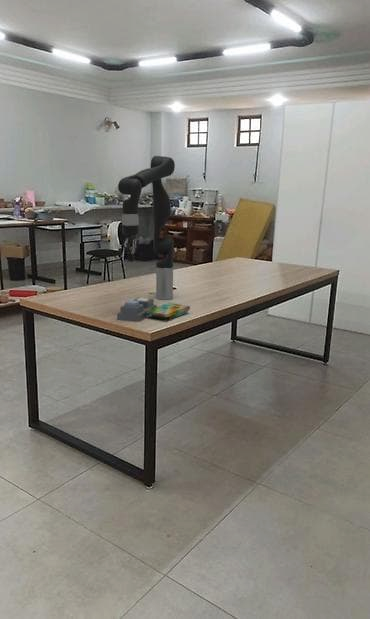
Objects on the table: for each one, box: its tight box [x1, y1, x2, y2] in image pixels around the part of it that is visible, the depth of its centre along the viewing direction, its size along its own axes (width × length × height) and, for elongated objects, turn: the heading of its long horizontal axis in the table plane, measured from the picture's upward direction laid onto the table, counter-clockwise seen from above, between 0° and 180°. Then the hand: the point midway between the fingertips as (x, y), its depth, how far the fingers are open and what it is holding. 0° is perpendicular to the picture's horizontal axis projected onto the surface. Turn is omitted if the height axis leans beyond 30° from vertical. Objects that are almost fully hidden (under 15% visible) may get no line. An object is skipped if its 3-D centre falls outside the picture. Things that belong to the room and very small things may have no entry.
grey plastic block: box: [116, 297, 158, 323], centre depth 225 cm, size 22×11×6 cm, turn 162°
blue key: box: [124, 299, 139, 308], centre depth 218 cm, size 5×5×3 cm
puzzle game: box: [145, 302, 191, 321], centre depth 225 cm, size 12×5×20 cm
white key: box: [136, 297, 151, 302], centre depth 230 cm, size 5×5×3 cm
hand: (131, 261), depth 221 cm, fingers closed
